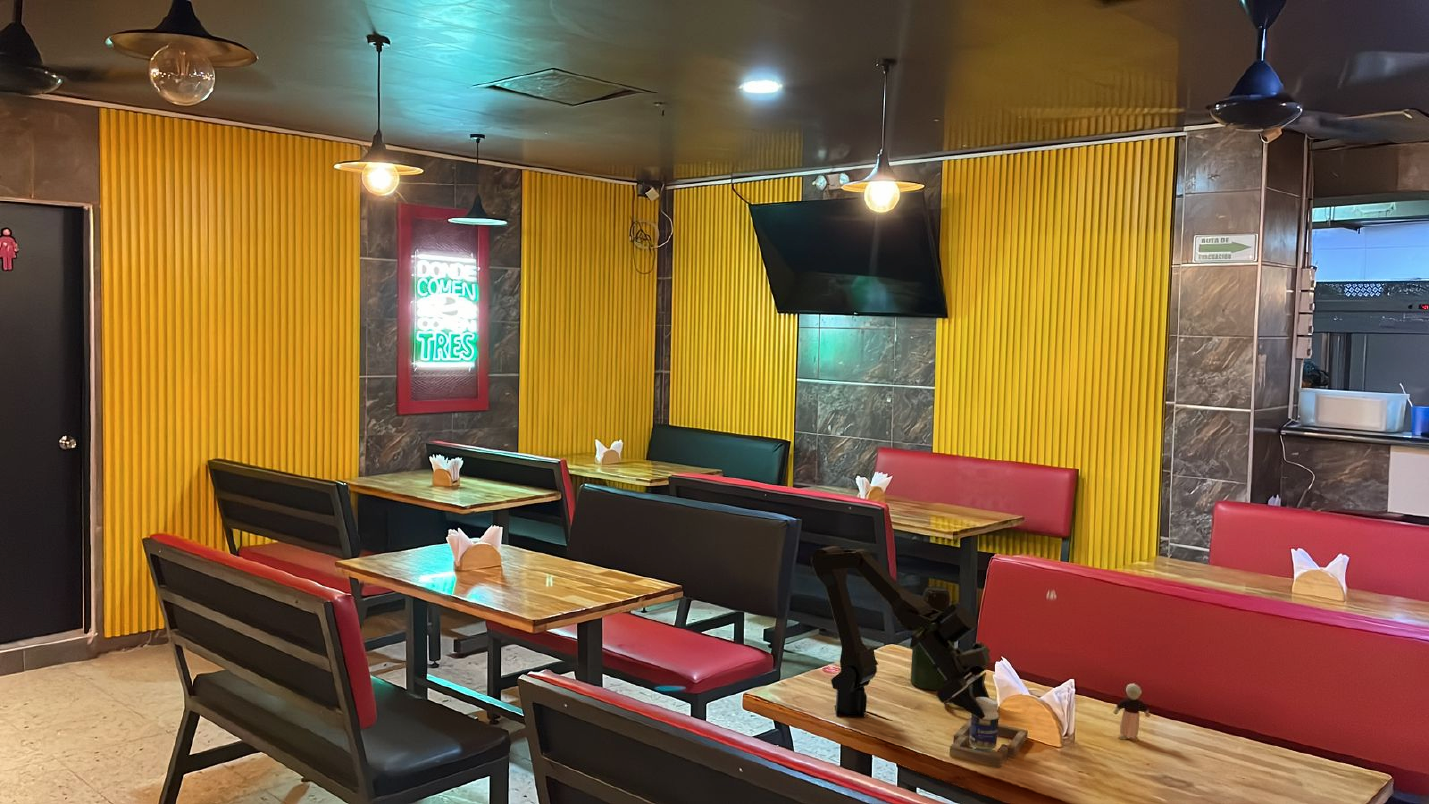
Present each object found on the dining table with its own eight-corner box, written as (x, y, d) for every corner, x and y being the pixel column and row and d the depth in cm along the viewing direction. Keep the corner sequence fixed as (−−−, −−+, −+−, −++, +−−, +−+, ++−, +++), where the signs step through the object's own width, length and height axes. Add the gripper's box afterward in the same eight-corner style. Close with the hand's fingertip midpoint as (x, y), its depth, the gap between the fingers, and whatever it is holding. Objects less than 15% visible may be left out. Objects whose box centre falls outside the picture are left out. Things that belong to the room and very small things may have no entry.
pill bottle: (977, 751, 226) (980, 705, 225) (964, 740, 231) (967, 696, 231) (1001, 749, 227) (1004, 704, 227) (987, 739, 233) (990, 695, 232)
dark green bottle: (957, 684, 274) (963, 588, 272) (943, 694, 265) (949, 595, 263) (919, 675, 279) (924, 581, 277) (904, 685, 270) (909, 588, 269)
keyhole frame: (969, 726, 244) (970, 717, 243) (1027, 739, 237) (1027, 730, 237) (943, 754, 226) (944, 745, 226) (1005, 769, 220) (1005, 759, 220)
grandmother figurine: (1116, 740, 239) (1120, 685, 238) (1110, 734, 243) (1114, 680, 242) (1150, 742, 239) (1154, 687, 238) (1144, 736, 242) (1148, 681, 242)
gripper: (954, 642, 222) (1003, 706, 217) (982, 623, 238) (1028, 682, 233) (916, 671, 227) (963, 734, 222) (946, 650, 243) (990, 709, 238)
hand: (987, 713), depth 229 cm, fingers closed on pill bottle, 6 cm apart
